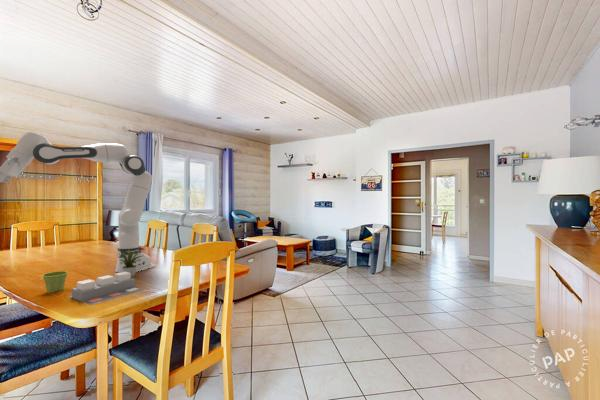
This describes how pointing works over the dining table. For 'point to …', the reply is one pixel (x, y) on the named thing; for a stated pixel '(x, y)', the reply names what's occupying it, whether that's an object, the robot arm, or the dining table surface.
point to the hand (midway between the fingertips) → (1, 182)
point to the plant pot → (55, 281)
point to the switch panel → (105, 292)
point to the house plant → (129, 262)
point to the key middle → (105, 280)
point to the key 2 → (122, 276)
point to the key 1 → (85, 285)
